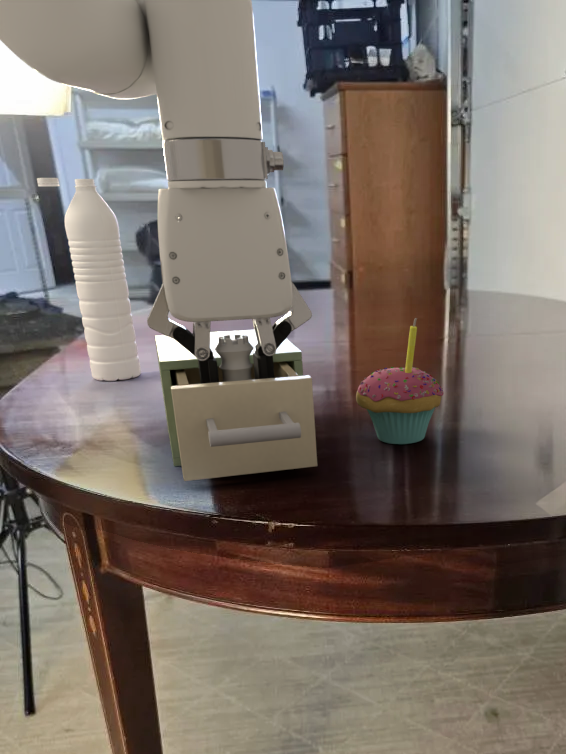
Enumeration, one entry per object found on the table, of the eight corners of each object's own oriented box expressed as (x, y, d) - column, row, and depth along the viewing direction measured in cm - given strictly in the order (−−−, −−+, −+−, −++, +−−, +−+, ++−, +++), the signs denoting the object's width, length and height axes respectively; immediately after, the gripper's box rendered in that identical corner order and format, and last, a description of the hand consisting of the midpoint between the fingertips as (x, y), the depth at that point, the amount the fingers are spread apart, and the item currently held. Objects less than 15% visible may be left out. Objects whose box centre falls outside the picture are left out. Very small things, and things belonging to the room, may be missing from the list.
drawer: (331, 487, 63) (326, 392, 60) (188, 504, 60) (174, 405, 57) (289, 426, 80) (284, 350, 76) (175, 437, 76) (164, 358, 73)
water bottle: (139, 369, 111) (110, 178, 101) (143, 378, 106) (112, 177, 95) (75, 375, 108) (37, 178, 98) (74, 384, 103) (35, 177, 92)
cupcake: (457, 434, 79) (459, 313, 74) (411, 456, 73) (410, 325, 68) (389, 422, 84) (387, 308, 79) (340, 442, 77) (334, 319, 73)
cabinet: (308, 451, 75) (301, 351, 71) (173, 466, 71) (158, 361, 67) (282, 415, 87) (275, 328, 83) (167, 425, 84) (154, 335, 80)
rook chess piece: (207, 434, 67) (195, 340, 64) (232, 420, 71) (222, 331, 68) (253, 437, 66) (244, 342, 62) (276, 424, 70) (269, 333, 66)
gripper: (311, 169, 65) (323, 385, 73) (104, 170, 61) (140, 400, 68) (331, 166, 59) (342, 403, 66) (101, 167, 54) (141, 421, 62)
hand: (239, 399), depth 67 cm, fingers closed on rook chess piece, 3 cm apart
